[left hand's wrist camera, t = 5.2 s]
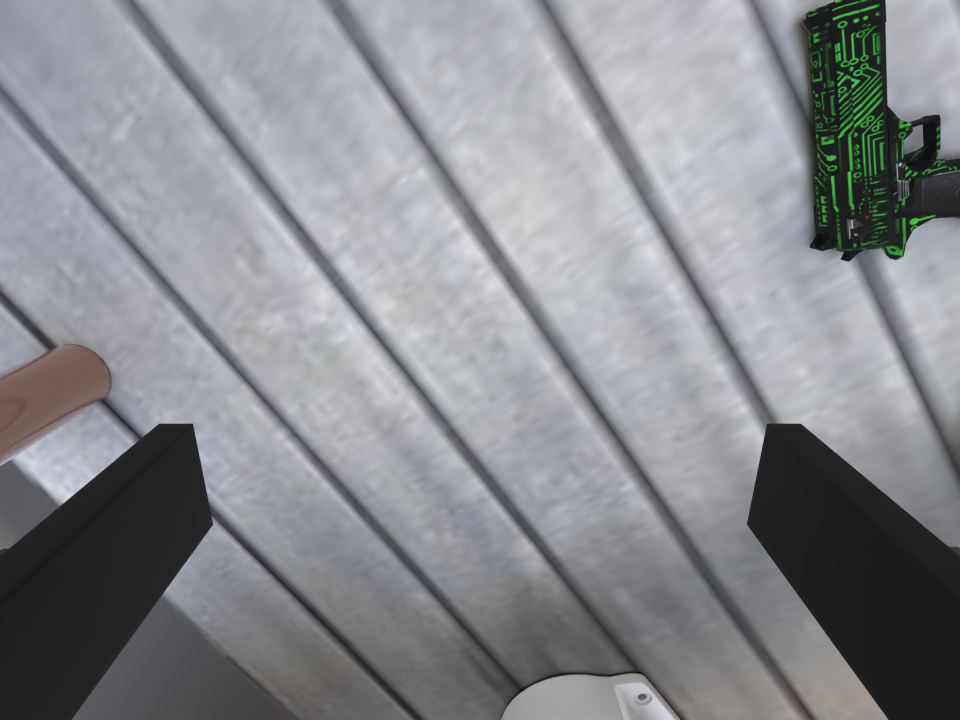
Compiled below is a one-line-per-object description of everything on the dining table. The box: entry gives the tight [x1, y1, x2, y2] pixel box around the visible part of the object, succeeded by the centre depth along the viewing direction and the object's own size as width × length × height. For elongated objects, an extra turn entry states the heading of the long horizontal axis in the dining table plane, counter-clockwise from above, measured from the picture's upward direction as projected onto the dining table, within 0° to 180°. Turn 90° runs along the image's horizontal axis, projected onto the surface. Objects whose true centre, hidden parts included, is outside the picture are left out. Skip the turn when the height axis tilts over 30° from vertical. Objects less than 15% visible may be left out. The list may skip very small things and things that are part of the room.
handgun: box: [799, 0, 960, 261], centre depth 35 cm, size 16×3×15 cm
